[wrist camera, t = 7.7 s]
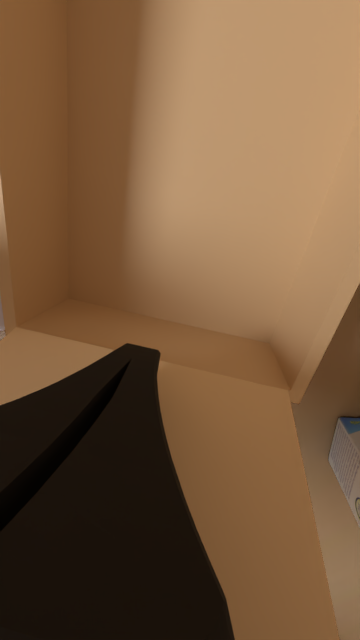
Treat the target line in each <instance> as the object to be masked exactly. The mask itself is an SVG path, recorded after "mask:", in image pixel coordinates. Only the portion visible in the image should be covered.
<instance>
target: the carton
mask: <svg viewBox="0 0 360 640" xmlns="http://www.w3.org/2000/svg"><path fill="white" fill-rule="evenodd" d="M359 283H360V0H0V295H1V303H2V310H3V318H4V326H5V334H6V336H7V335H8V334H9V333H10V332H11V331H12V330H13V329H14V328H15V327H18V328H22V329H27V330H31V331H35V332H40V333H44V334H48V335H52V336H57V337H61V338H65V339H70V340H74V341H78V342H83V343H87V344H91V345H95V346H100V347H104V348H108V349H113V350H116V349H118V348H119V347H121V346H123V345H124V344H126V343H130V344H134V345H139V346H143V347H147V348H152V349H156V350H159V352H160V353H161V355H160V361H164V362H168V363H173V364H177V365H181V366H186V367H190V368H194V369H199V370H203V371H207V372H211V373H216V374H220V375H224V376H229V377H233V378H237V379H242V380H246V381H250V382H254V383H259V384H263V385H267V386H272V387H276V388H280V389H285V390H288V393H289V398H290V402H291V403H296V404H299V403H300V401H301V399H302V397H303V395H304V393H305V391H306V389H307V387H308V385H309V383H310V381H311V379H312V377H313V375H314V373H315V371H316V369H317V367H318V365H319V363H320V361H321V359H322V357H323V355H324V353H325V351H326V349H327V347H328V345H329V343H330V341H331V339H332V337H333V335H334V333H335V331H336V329H337V327H338V325H339V323H340V321H341V319H342V317H343V315H344V313H345V311H346V309H347V307H348V305H349V303H350V301H351V299H352V297H353V295H354V293H355V291H356V289H357V287H358V285H359Z"/></svg>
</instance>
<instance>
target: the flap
mask: <svg viewBox="0 0 360 640" xmlns="http://www.w3.org/2000/svg"><path fill="white" fill-rule="evenodd" d="M112 351H114V350H113V349H108V348H104V347H100V346H95V345H91V344H87V343H83V342H78V341H74V340H70V339H65V338H61V337H57V336H52V335H48V334H44V333H40V332H35V331H31V330H27V329H22V328H18V327H15V328H14V329H13V330H12V331H11V332H10V333H9V334H8V335H7V336H5V337H4V338H3V339H2V340H1V341H0V405H2V404H5V403H8V402H11V401H13V400H16V399H19V398H21V397H23V396H26V395H28V394H31V393H33V392H35V391H38V390H40V389H42V388H45V387H47V386H49V385H51V384H54V383H56V382H58V381H60V380H62V379H64V378H66V377H68V376H69V375H71V374H73V373H75V372H77V371H79V370H81V369H83V368H85V367H87V366H89V365H90V364H92V363H94V362H96V361H97V360H99V359H101V358H102V357H104V356H106V355H107V354H109V353H111V352H112ZM157 383H158V395H159V403H160V410H161V415H162V421H163V426H164V430H165V434H166V438H167V442H168V446H169V450H170V453H171V457H172V460H173V463H174V466H175V469H176V472H177V475H178V478H179V481H180V484H181V487H182V490H183V493H184V497H185V499H186V502H187V505H188V507H189V510H190V512H191V515H192V518H193V520H194V523H195V526H196V528H197V531H198V533H199V536H200V538H201V540H202V543H203V545H204V548H205V550H206V552H207V555H208V557H209V560H210V562H211V564H212V567H213V569H214V571H215V573H216V576H217V578H218V580H219V583H220V585H221V587H222V589H223V592H224V594H225V597H226V600H227V605H228V609H229V614H230V619H231V623H232V628H233V633H234V638H235V640H340V639H339V634H338V629H337V624H336V619H335V614H334V610H333V605H332V600H331V595H330V590H329V586H328V581H327V576H326V571H325V566H324V561H323V557H322V552H321V547H320V542H319V537H318V533H317V528H316V523H315V518H314V513H313V508H312V504H311V499H310V494H309V489H308V484H307V480H306V475H305V470H304V465H303V460H302V455H301V451H300V446H299V441H298V436H297V431H296V426H295V422H294V417H293V412H292V407H291V402H290V398H289V393H288V390H285V389H280V388H276V387H272V386H267V385H263V384H259V383H254V382H250V381H246V380H242V379H237V378H233V377H229V376H224V375H220V374H216V373H211V372H207V371H203V370H199V369H194V368H190V367H186V366H181V365H177V364H173V363H168V362H164V361H159V367H158V373H157Z"/></svg>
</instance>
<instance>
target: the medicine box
mask: <svg viewBox="0 0 360 640" xmlns="http://www.w3.org/2000/svg"><path fill="white" fill-rule="evenodd" d="M328 461H329V463H330V465H331V467H332V469H333V471H334V473H335V476H336V478H337V480H338V482H339V484H340V486H341V488H342V490H343V493H344V495H345V497H346V499H347V501H348V503H349V506H350V508H351V510H352V512H353V514H354V517H355V519H356V521H357V523H358V525H359V527H360V418H346V417H340V418H338V422H337V426H336V429H335V432H334V436H333V441H332V445H331V449H330V453H329V458H328Z"/></svg>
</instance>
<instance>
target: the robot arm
mask: <svg viewBox="0 0 360 640" xmlns="http://www.w3.org/2000/svg"><path fill="white" fill-rule="evenodd" d="M3 330H5V326H4V318H3V310H2V303H1V295H0V331H3ZM160 355H161V353H160V352H159V350H156V349H152V348H147V347H143V346H139V345H134V344H130V343H126V344H124V345H123V346H121V347H119V348H118V349H116V350H114V351H112V352H111V353H109V354H107V355H106V356H104V357H102V358H101V359H99V360H97V361H96V362H94V363H92V364H90V365H89V366H87V367H85V368H83V369H81V370H79V371H77V372H75V373H73V374H71V375H69V376H68V377H66V378H64V379H62V380H60V381H58V382H56V383H54V384H51V385H49V386H47V387H45V388H42V389H40V390H38V391H35V392H33V393H31V394H28V395H26V396H23V397H21V398H19V399H16V400H13V401H11V402H8V403H5V404H2V405H0V640H235V638H234V633H233V628H232V623H231V619H230V614H229V609H228V605H227V600H226V597H225V594H224V592H223V589H222V587H221V585H220V583H219V580H218V578H217V576H216V573H215V571H214V569H213V567H212V564H211V562H210V560H209V557H208V555H207V552H206V550H205V548H204V545H203V543H202V540H201V538H200V536H199V533H198V531H197V528H196V526H195V523H194V520H193V518H192V515H191V512H190V510H189V507H188V505H187V502H186V499H185V497H184V493H183V490H182V487H181V484H180V481H179V478H178V475H177V472H176V469H175V466H174V463H173V460H172V457H171V453H170V450H169V446H168V442H167V438H166V434H165V430H164V426H163V421H162V415H161V410H160V403H159V395H158V383H157V373H158V367H159V361H160Z"/></svg>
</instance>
